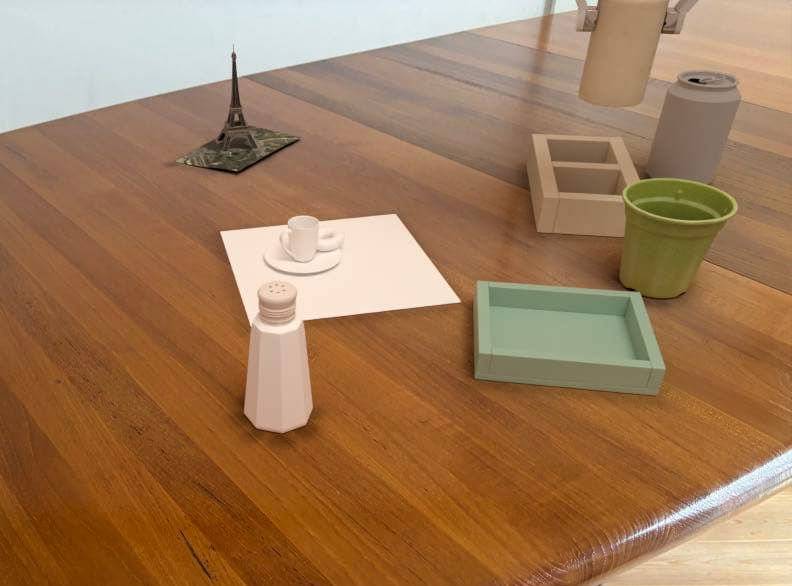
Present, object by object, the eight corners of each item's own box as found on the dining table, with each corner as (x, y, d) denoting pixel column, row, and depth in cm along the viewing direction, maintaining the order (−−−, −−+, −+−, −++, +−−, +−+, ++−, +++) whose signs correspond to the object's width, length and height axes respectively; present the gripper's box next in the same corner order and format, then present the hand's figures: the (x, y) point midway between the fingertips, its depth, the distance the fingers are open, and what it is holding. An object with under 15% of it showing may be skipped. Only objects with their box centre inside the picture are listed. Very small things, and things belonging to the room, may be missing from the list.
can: (638, 167, 101) (666, 65, 94) (704, 170, 100) (737, 67, 92) (649, 191, 95) (679, 85, 88) (718, 195, 94) (755, 87, 87)
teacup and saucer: (338, 237, 88) (339, 201, 85) (358, 271, 82) (360, 234, 79) (257, 245, 87) (256, 209, 84) (272, 281, 81) (271, 243, 78)
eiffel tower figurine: (238, 177, 102) (233, 64, 94) (174, 161, 107) (165, 53, 99) (301, 140, 112) (302, 35, 104) (240, 127, 116) (237, 26, 108)
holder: (613, 169, 101) (621, 137, 98) (639, 238, 86) (650, 202, 83) (526, 165, 103) (531, 133, 100) (536, 232, 88) (543, 197, 85)
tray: (632, 317, 74) (640, 291, 72) (657, 396, 64) (666, 369, 63) (473, 304, 76) (477, 280, 75) (474, 379, 67) (478, 352, 65)
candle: (569, 101, 73) (595, -23, 67) (588, 86, 77) (615, -34, 71) (632, 112, 71) (666, -17, 64) (650, 95, 74) (683, -28, 68)
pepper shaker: (317, 431, 62) (321, 305, 55) (246, 437, 62) (241, 311, 55) (308, 389, 66) (310, 267, 60) (241, 394, 66) (236, 272, 59)
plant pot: (719, 312, 74) (752, 223, 69) (609, 305, 75) (633, 217, 70) (693, 264, 81) (721, 179, 76) (593, 258, 83) (614, 175, 77)
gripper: (810, -170, 62) (747, 26, 71) (531, -166, 66) (503, 19, 74) (839, -165, 57) (768, 44, 66) (535, -161, 61) (504, 37, 70)
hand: (625, 31), depth 70 cm, fingers closed on candle, 5 cm apart
